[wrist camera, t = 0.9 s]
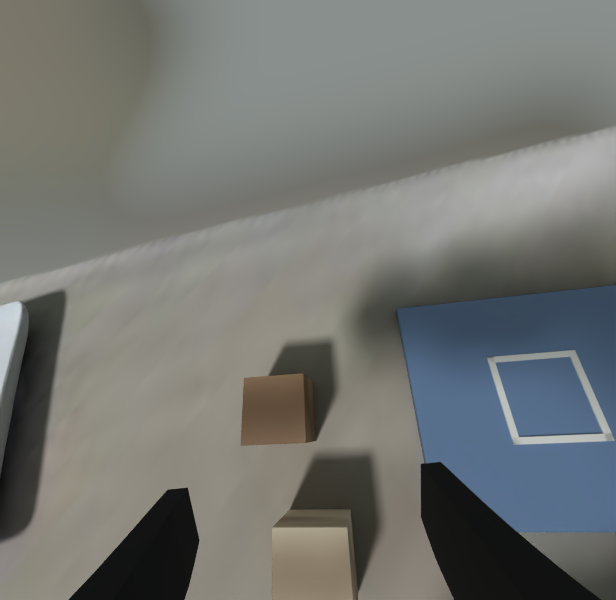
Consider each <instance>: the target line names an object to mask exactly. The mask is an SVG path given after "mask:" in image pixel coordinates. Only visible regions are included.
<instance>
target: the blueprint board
mask: <svg viewBox="0 0 616 600" xmlns="http://www.w3.org/2000/svg"><path fill="white" fill-rule="evenodd" d="M396 313H397V318H398V324H399V329H400V334H401V340H402V345H403V350H404V356H405V361H406V366H407V372H408V377H409V382H410V388H411V393H412V398H413V404H414V409H415V414H416V420H417V425H418V430H419V436H420V441H421V446H422V452H423V457H424V463H434V462H441V463H442V464H444V465H445V466H446V467H447V468H448V469H449V470H450V471H451V472H452V473H453V474H454V475H455V476H456V477H457V478H458V479H460V480H461V481H462V482H463V483H464V484H465V485H466V486H467V487H468V488H469V489H470V490H471V491H472V492H473V493H474V494H475V495H477V496H478V497H479V498H480V499H481V500H482V501H483V502H484V503H485V504H486V505H487V506H488V507H490V508H491V509H492V510H493V511H494V512H495V513H496V514H497V515H498V516H500V517H501V518H502V519H503V520H504V521H505V522H506V523H508V524H509V525H510V526H511V527H512V528H513V529H514V530H515V531H517V532H616V285H612V286H602V287H593V288H584V289H575V290H565V291H556V292H547V293H538V294H529V295H519V296H510V297H501V298H492V299H482V300H473V301H464V302H455V303H446V304H436V305H427V306H418V307H409V308H399V309H397V311H396Z"/></svg>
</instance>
